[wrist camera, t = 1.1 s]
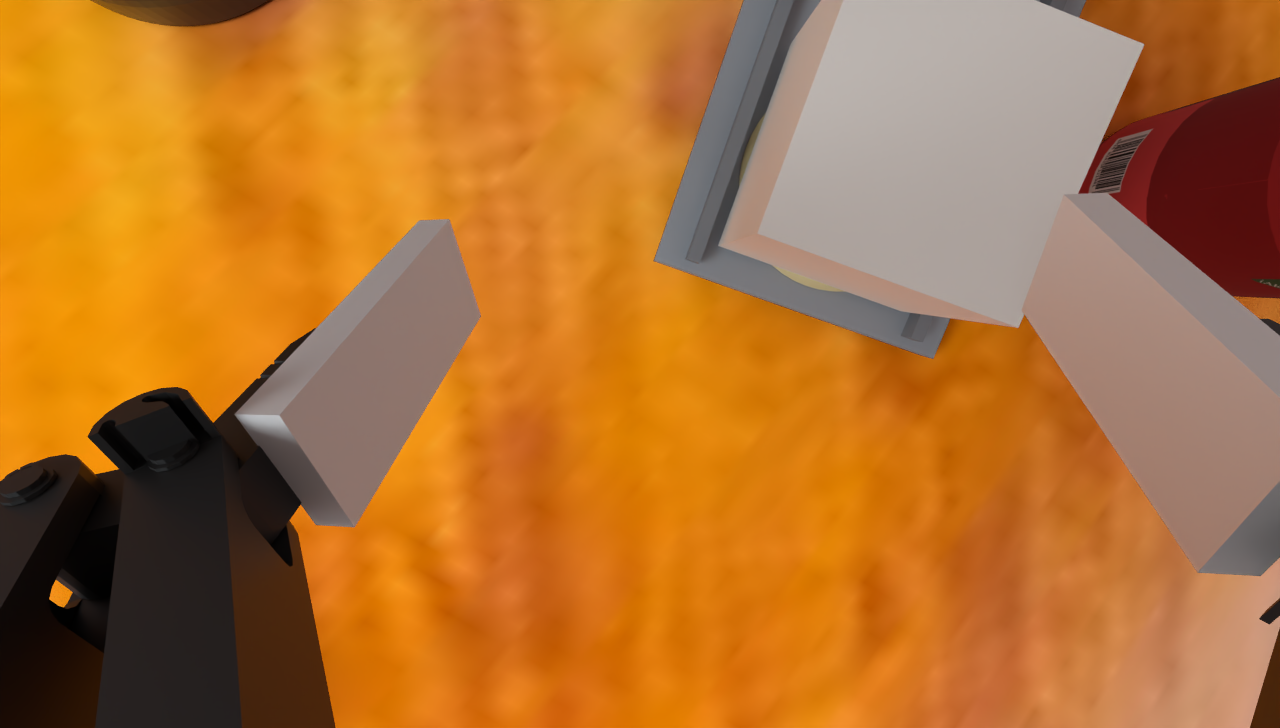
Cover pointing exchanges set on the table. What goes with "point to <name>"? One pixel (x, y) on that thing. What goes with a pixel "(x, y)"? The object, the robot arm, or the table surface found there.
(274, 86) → the table surface
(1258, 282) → the canned food
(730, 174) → the board
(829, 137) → the block
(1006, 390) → the table surface
